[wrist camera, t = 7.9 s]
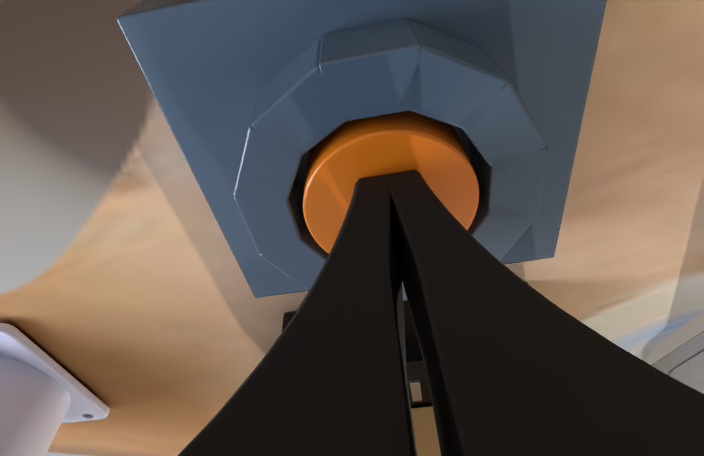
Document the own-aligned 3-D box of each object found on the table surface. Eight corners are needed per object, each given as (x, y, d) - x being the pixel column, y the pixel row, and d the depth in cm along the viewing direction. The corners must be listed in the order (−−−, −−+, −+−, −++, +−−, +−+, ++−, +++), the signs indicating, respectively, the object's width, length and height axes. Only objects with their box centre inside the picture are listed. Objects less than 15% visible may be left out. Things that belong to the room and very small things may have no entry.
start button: (324, 237, 12) (323, 281, 11) (288, 110, 10) (281, 148, 8) (462, 216, 12) (477, 260, 11) (462, 80, 9) (483, 114, 8)
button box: (261, 263, 16) (245, 343, 13) (143, -2, 10) (70, 45, 7) (535, 224, 15) (579, 302, 12) (584, -93, 9) (690, -78, 6)
